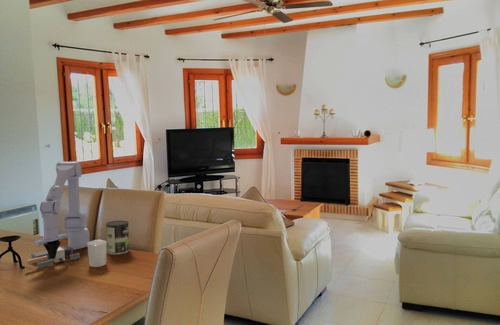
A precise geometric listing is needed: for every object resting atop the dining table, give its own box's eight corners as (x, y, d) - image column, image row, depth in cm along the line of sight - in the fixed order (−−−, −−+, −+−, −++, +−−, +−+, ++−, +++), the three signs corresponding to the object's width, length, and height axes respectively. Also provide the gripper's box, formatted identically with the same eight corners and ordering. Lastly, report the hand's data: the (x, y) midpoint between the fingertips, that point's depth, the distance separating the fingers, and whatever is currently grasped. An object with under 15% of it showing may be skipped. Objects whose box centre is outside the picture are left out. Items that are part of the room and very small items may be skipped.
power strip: (67, 252, 192) (66, 245, 191) (79, 258, 183) (79, 250, 183) (26, 262, 178) (26, 254, 178) (38, 268, 170) (38, 260, 169)
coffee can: (132, 248, 198) (131, 220, 197) (125, 254, 188) (124, 225, 187) (111, 248, 199) (110, 220, 197) (103, 254, 188) (102, 225, 187)
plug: (61, 257, 183) (60, 246, 183) (72, 263, 176) (71, 251, 176) (50, 260, 180) (50, 249, 179) (61, 265, 173) (61, 254, 172)
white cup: (110, 261, 178) (109, 240, 177) (102, 268, 171) (101, 245, 170) (93, 261, 179) (92, 239, 178) (84, 267, 171) (83, 244, 170)
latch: (46, 258, 173) (46, 255, 173) (48, 259, 172) (47, 256, 172) (27, 263, 167) (26, 260, 167) (28, 264, 166) (28, 260, 166)
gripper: (59, 223, 181) (61, 252, 182) (29, 230, 169) (30, 261, 170) (70, 224, 178) (71, 254, 179) (39, 232, 165) (41, 264, 166)
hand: (52, 258), depth 174 cm, fingers closed
